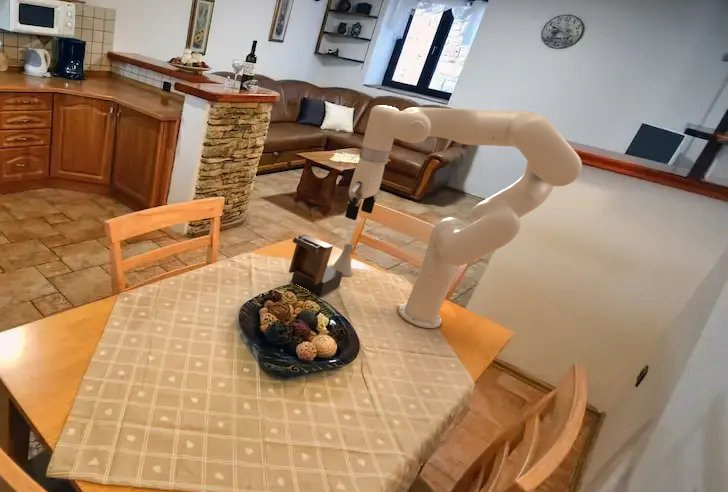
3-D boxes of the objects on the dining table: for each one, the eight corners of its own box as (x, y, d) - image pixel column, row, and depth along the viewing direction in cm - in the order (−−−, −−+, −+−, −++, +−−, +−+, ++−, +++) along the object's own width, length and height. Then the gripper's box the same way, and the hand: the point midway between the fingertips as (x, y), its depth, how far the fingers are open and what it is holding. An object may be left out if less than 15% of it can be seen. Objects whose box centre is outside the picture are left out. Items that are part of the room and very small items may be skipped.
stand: (310, 273, 168) (314, 259, 166) (339, 286, 162) (343, 273, 160) (290, 282, 160) (294, 268, 157) (319, 297, 154) (323, 283, 152)
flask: (350, 268, 176) (358, 243, 172) (352, 278, 170) (360, 251, 165) (329, 265, 176) (337, 239, 172) (331, 274, 170) (339, 247, 165)
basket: (306, 232, 152) (291, 236, 145) (333, 244, 147) (318, 249, 140) (296, 269, 157) (280, 274, 151) (321, 282, 152) (307, 288, 146)
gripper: (375, 148, 142) (360, 205, 150) (346, 154, 130) (332, 216, 138) (400, 155, 138) (383, 213, 146) (373, 162, 126) (356, 225, 134)
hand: (358, 215), depth 142 cm, fingers open, 9 cm apart
